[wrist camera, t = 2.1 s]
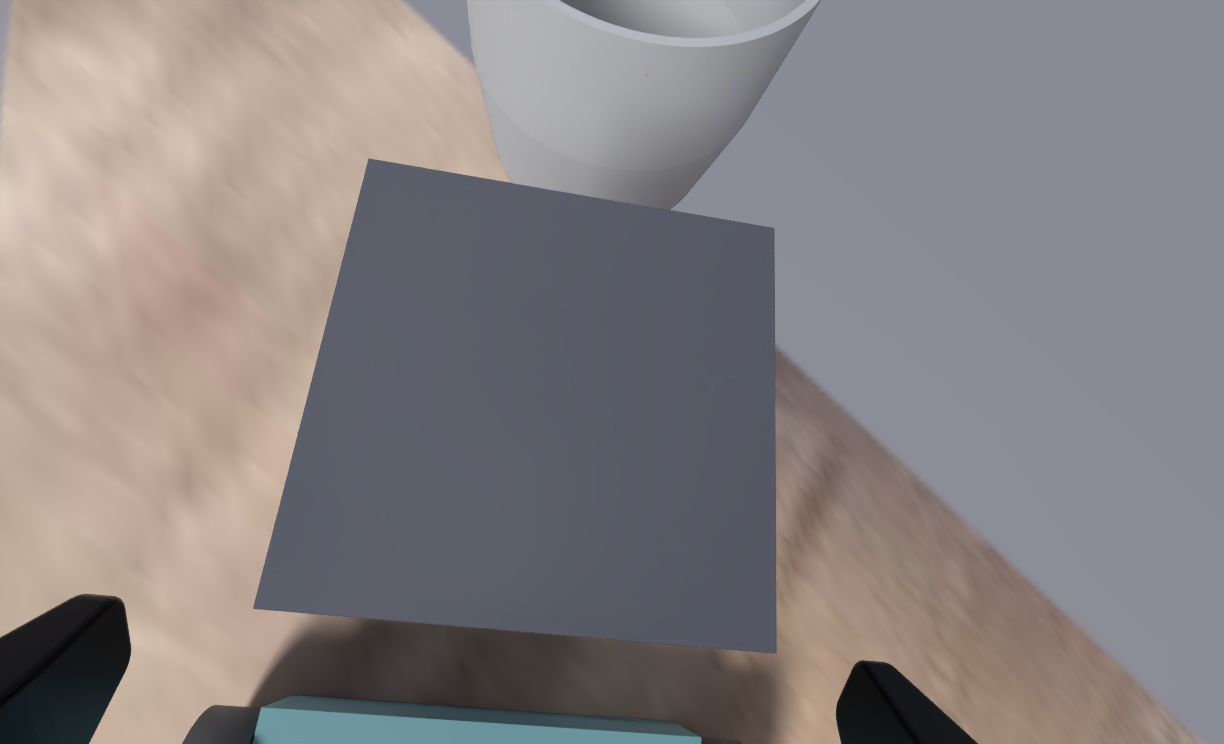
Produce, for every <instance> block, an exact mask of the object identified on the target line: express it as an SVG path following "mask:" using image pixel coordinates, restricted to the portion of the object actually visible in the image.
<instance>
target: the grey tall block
mask: <svg viewBox="0 0 1224 744" xmlns="http://www.w3.org/2000/svg"><path fill="white" fill-rule="evenodd" d="M774 277H775V276H774V228H770V227H764V226H758V225H753V224H747V223H741V222H735V221H729V220H724V219H717V218H712V217H706V216H700V215H694V214H689V213H683V212H676V211H671V210H665V209H659V208H654V207H648V206H642V205H636V204H630V203H625V202H619V201H613V200H607V199H601V198H595V197H590V196H584V195H578V194H572V193H566V192H561V191H555V190H549V189H543V188H537V187H531V186H526V185H520V184H514V183H508V182H502V181H497V180H491V179H485V178H479V177H473V176H467V175H462V174H456V173H450V172H444V171H438V170H433V169H427V168H421V167H415V166H409V165H403V164H398V163H392V162H386V161H380V160H374V159H368V163H367V167H366V171H365V175H364V179H363V183H362V187H361V190H360V194H359V198H358V202H357V206H356V210H355V214H354V218H353V222H352V225H351V229H350V233H349V237H348V241H347V245H346V249H345V253H344V257H343V261H342V264H341V268H340V272H339V276H338V280H337V284H336V288H335V292H334V296H333V299H332V303H331V307H330V311H329V315H328V319H327V323H326V327H325V331H324V335H323V338H322V342H321V346H320V350H319V354H318V358H317V362H316V366H315V370H314V373H313V377H312V381H311V385H310V389H309V393H308V397H307V401H306V405H305V408H304V412H303V416H302V420H301V424H300V428H299V432H298V436H297V440H296V444H295V447H294V451H293V455H292V459H291V463H290V467H289V471H288V475H287V479H286V482H285V486H284V490H283V494H282V498H281V502H280V506H279V510H278V514H277V518H276V521H275V525H274V529H273V533H272V537H271V541H270V545H269V549H268V553H267V556H266V560H265V564H264V568H263V572H262V576H261V580H260V584H259V588H258V592H257V595H256V599H255V603H254V607H253V609H262V610H274V611H286V612H297V613H309V614H321V615H332V616H344V617H356V618H367V619H379V620H391V621H402V622H414V623H425V624H437V625H449V626H460V627H472V628H484V629H495V630H507V631H519V632H530V633H542V634H554V635H565V636H577V637H589V638H600V639H612V640H624V641H635V642H647V643H658V644H670V645H682V646H693V647H705V648H717V649H728V650H740V651H752V652H763V653H775V654H776V465H775V288H774V287H775V285H774V284H775V282H774V280H775V278H774Z"/></svg>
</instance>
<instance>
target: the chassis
mask: <svg viewBox="0 0 1224 744" xmlns="http://www.w3.org/2000/svg"><path fill="white" fill-rule="evenodd" d="M182 744H742V743H741V742H740V741H737V740H724V739H710V738H701V737H700V736H698V735H696V734H694V733H693V732H691V731H689V730H687V729H685V728H683V727H682V726H680V725H678V724H676V723H674V722H672V721H658V720H643V719H629V718H615V717H601V716H587V715H573V714H558V713H544V712H530V711H516V710H502V709H488V708H473V707H459V706H445V705H431V704H417V703H403V702H389V701H374V700H360V699H346V698H332V697H318V696H304V695H292V696H290V697H287V698H285V699H282V700H279V701H277V702H274V703H271V704H269V705H266V706H263V707H261V708H252V707H237V706H223V705H214V706H211V707H209V708H208V709H207V710H205V711H204V713H203V714H202V715H201V716H200V717H199V718H198V719H197V721H196V722H195V723H194V725H193V726H192V728H191V729H190V731H189V733H188V734H187V736H186V738H185V740H184V742H183V743H182Z"/></svg>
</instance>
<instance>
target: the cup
mask: <svg viewBox="0 0 1224 744" xmlns="http://www.w3.org/2000/svg"><path fill="white" fill-rule="evenodd" d="M820 1H821V0H467V7H468V16H469V26H470V35H471V44H472V52H473V57H474V60H475V65H476V69H477V73H478V77H479V81H480V86H481V90H482V94H483V98H484V102H485V106H486V110H487V114H488V119H489V123H490V127H491V131H492V135H493V139H494V143H495V147H496V150H497V153H498V156H499V158H500V160H501V162H502V165H503V167H504V169H505V171H506V173H507V175H508V177H509V179H510V181H511V183H514V184H520V185H526V186H531V187H537V188H543V189H549V190H555V191H561V192H566V193H572V194H578V195H584V196H590V197H595V198H601V199H607V200H613V201H619V202H625V203H630V204H636V205H642V206H648V207H654V208H659V209H665V210H670V209H671V208H672V207H673V206H675V205H676V204H677V203H678V202H680V201H681V200H682V199H683V198H684V197H685V195H686V194H687V193H688V192H689V191H690V189H691V188H692V187H693V186H694V185H695V183H696V182H697V181H698V180H699V178H700V177H701V176H702V175H703V174H704V173H705V171H706V170H707V169H708V168H709V166H710V165H711V164H712V163H713V162H714V160H715V159H716V158H717V157H718V156H719V154H720V153H721V152H722V151H723V150H724V148H725V147H726V146H727V145H728V143H729V142H730V141H731V140H732V139H733V137H734V136H735V135H736V134H737V133H738V131H739V130H740V129H741V128H742V126H743V125H744V123H745V122H746V121H747V119H748V117H749V116H750V114H751V112H752V111H753V109H754V107H755V106H756V104H757V103H758V101H759V100H760V98H761V96H762V95H763V93H764V91H765V90H766V88H767V87H768V85H769V83H770V82H771V80H772V79H773V77H774V75H775V74H776V72H777V71H778V69H779V67H780V66H781V64H782V62H783V61H784V59H785V57H786V56H787V54H788V53H789V51H790V50H791V47H792V46H793V45H794V43H795V41H796V40H797V38H798V37H799V35H800V33H801V32H802V30H803V28H804V27H805V25H806V24H807V22H808V20H809V19H810V17H811V16H812V14H813V12H814V11H815V9H816V7H817V6H818V4H819V3H820Z"/></svg>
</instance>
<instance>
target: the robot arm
mask: <svg viewBox="0 0 1224 744" xmlns="http://www.w3.org/2000/svg"><path fill="white" fill-rule="evenodd" d="M130 656H131V643H130V636H129V630H128V623H127V617H126V610H125V606H124V602H123V601H122V600H121V599H120V598H118V597H116V596H106V595H94V594H81V595H78V596H75V597H73V598H71V599H69V600H67V601H65V602H64V603H62V604H60V605H58V606H56V607H55V608H53V609H51V610H49V611H47V612H46V613H44V614H42V615H40V616H38V617H36V618H35V619H33V620H31V621H29V622H27V623H26V624H24V625H22V626H20V627H18V628H17V629H15V630H13V631H11V632H9V633H8V634H6V635H4V636H2V637H0V744H89V742H90V740H91V738H92V737H93V735H94V733H95V731H96V729H97V727H98V725H99V723H100V721H101V719H102V717H103V715H104V713H105V711H106V709H107V707H108V705H109V703H110V701H111V699H112V697H113V695H114V693H115V691H116V689H117V687H118V685H119V683H120V681H121V679H122V677H123V675H124V673H125V671H126V669H127V666H128V663H129V660H130ZM836 720H837V726H838V731H839V735H840V740H841V744H978V743H977V742H976V741H975V740H974V739H972V738H971V737H970V736H969V735H968V734H967V733H966V732H965V731H964V730H963V729H961V728H960V727H959V726H958V725H957V724H956V723H955V722H954V721H953V720H952V719H951V718H949V717H948V716H947V715H946V714H945V713H944V712H943V711H942V710H941V709H940V708H938V707H937V706H936V705H935V704H934V703H933V702H932V701H931V700H930V699H929V698H927V697H926V696H925V695H924V694H923V693H922V692H921V691H920V690H919V689H918V688H916V687H915V686H914V685H913V684H912V683H911V682H910V681H909V680H908V679H907V678H906V677H904V676H903V675H902V674H901V673H900V672H899V671H898V670H897V669H896V668H894V667H893V666H892V665H890V664H888V663H885V662H876V661H864V660H862V661H859V662H857V663H856V664H855V665H854V667H853V668H852V671H851V673H850V675H849V677H848V680H847V682H846V684H845V686H844V688H843V691H842V693H841V695H840V697H839V700H838V702H837V707H836Z"/></svg>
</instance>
